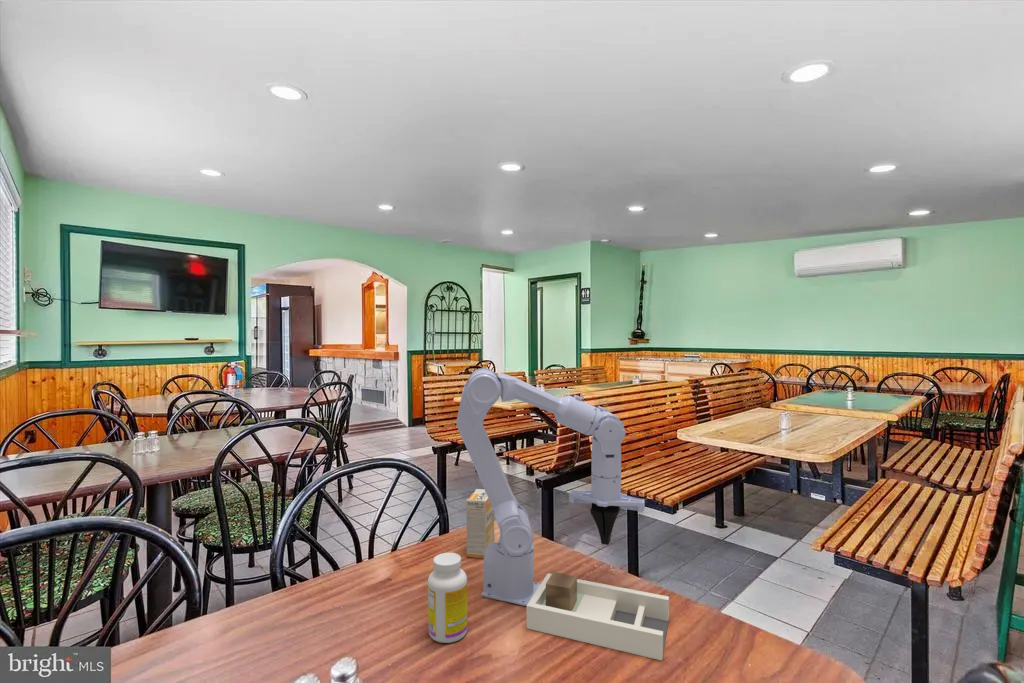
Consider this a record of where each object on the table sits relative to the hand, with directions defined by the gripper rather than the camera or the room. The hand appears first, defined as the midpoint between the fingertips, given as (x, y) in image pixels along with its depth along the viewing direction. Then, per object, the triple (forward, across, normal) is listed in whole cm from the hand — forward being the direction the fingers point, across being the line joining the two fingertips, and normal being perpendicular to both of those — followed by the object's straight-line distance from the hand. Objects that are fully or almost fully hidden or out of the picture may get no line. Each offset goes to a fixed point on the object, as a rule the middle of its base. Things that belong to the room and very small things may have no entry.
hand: (605, 542), depth 100 cm
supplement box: (+10, -30, +6) cm, 32 cm away
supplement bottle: (+10, -22, -24) cm, 34 cm away
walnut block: (+7, -6, -12) cm, 15 cm away
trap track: (+9, +1, -12) cm, 15 cm away
